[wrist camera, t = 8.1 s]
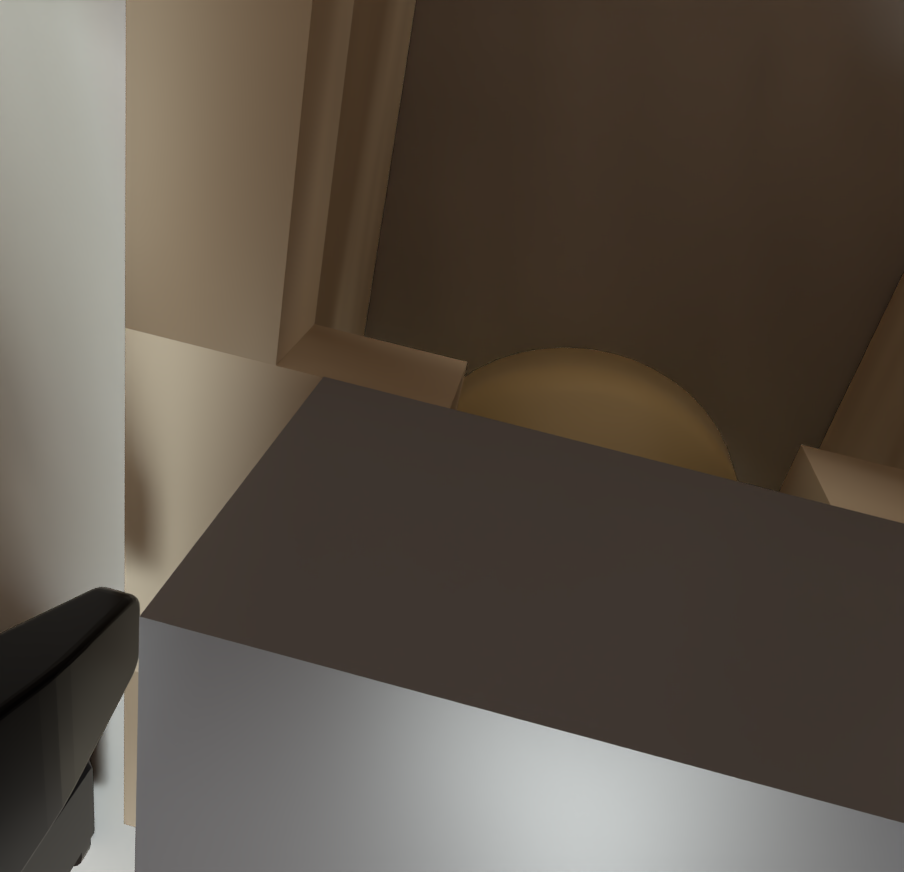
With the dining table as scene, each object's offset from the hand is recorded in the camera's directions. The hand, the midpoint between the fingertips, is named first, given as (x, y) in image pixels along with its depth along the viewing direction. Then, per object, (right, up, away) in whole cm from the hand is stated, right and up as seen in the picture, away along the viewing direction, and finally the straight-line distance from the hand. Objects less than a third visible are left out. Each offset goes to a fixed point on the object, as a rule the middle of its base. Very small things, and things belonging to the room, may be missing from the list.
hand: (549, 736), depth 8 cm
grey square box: (+1, +2, +4) cm, 5 cm away
